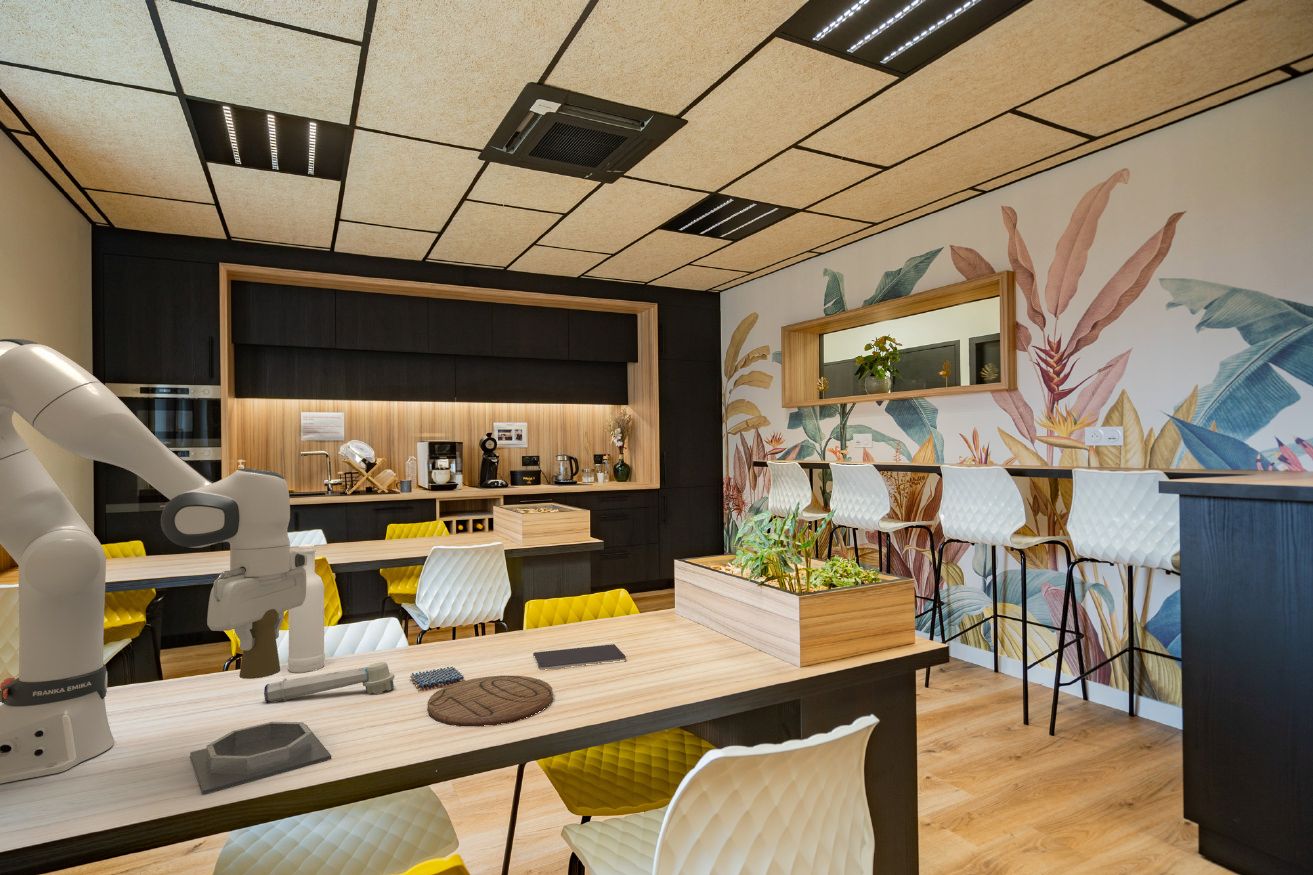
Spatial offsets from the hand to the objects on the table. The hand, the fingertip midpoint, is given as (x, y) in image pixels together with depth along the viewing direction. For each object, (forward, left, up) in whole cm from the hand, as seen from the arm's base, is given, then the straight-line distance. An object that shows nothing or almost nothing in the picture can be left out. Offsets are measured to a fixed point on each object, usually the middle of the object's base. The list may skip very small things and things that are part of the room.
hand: (260, 644), depth 114 cm
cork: (0, 0, -5) cm, 5 cm away
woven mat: (+38, +18, -20) cm, 46 cm away
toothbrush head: (+17, +25, -20) cm, 36 cm away
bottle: (+18, +50, -19) cm, 56 cm away
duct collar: (0, 0, -19) cm, 19 cm away
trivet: (+41, -3, -20) cm, 46 cm away
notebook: (+71, +10, -20) cm, 75 cm away
